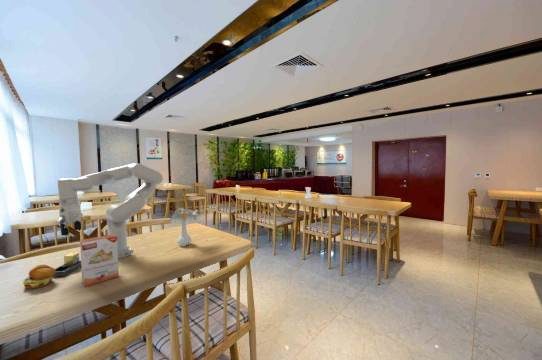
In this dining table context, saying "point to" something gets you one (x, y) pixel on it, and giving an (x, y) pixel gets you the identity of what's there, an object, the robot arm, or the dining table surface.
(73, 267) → the tray
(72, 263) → the gold block
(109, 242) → the cracker box
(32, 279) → the cheeseburger
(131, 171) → the robot arm
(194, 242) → the dining table surface
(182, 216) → the flower vase
